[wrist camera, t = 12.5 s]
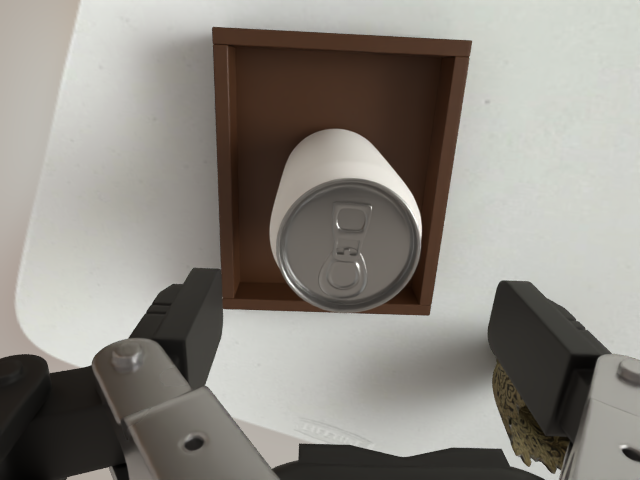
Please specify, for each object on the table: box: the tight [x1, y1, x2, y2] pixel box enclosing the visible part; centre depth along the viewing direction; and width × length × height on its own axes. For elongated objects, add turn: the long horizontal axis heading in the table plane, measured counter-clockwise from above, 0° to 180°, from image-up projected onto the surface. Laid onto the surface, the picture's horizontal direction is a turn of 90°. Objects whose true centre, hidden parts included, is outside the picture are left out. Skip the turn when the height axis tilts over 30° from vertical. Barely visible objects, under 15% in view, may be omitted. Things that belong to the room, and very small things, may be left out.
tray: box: [212, 27, 472, 316], centre depth 27 cm, size 17×14×3 cm
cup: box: [492, 358, 570, 474], centre depth 30 cm, size 8×7×8 cm
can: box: [270, 129, 422, 313], centre depth 23 cm, size 6×6×12 cm
